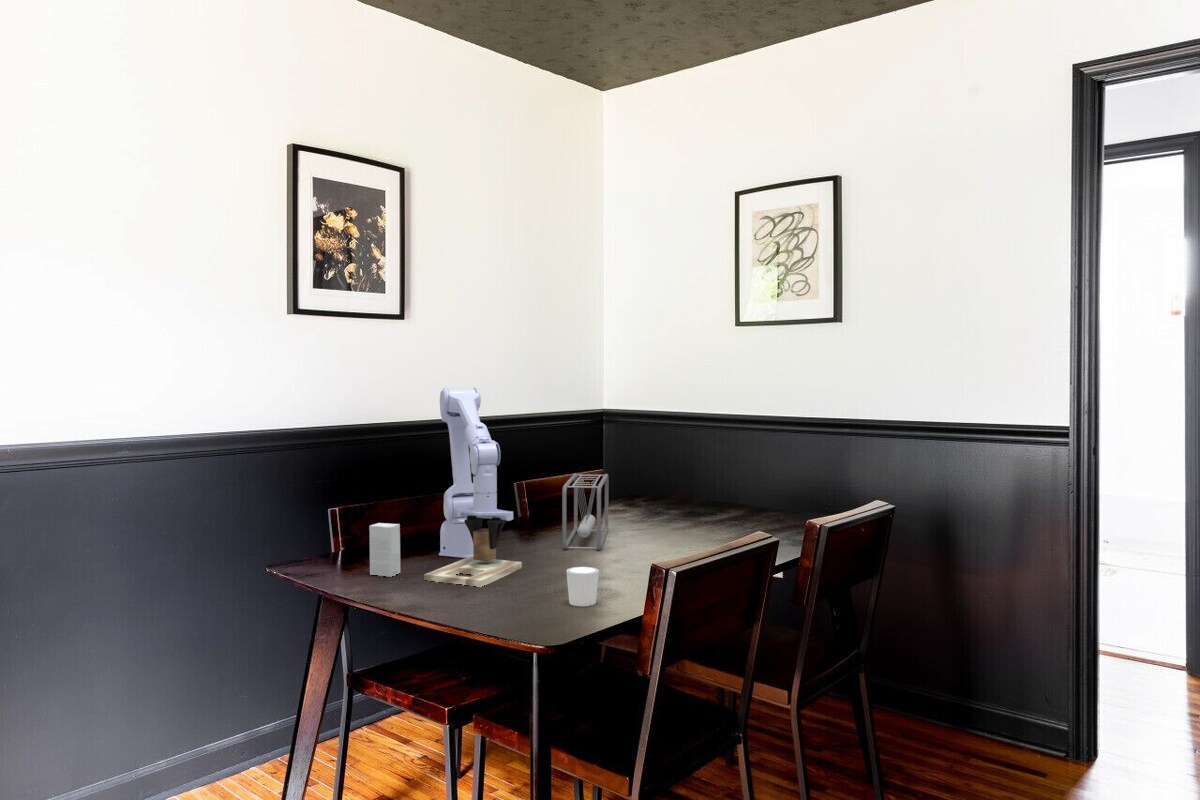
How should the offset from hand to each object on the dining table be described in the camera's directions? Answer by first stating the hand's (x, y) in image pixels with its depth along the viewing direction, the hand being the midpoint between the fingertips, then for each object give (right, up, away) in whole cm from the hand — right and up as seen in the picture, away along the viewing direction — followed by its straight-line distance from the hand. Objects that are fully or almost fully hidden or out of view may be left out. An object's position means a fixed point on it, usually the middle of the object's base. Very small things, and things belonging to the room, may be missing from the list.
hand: (485, 547), depth 208 cm
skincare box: (-23, -6, -5) cm, 24 cm away
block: (0, -3, 0) cm, 3 cm away
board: (-2, -6, -4) cm, 7 cm away
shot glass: (+24, -7, -29) cm, 38 cm away
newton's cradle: (+24, -4, +36) cm, 44 cm away
